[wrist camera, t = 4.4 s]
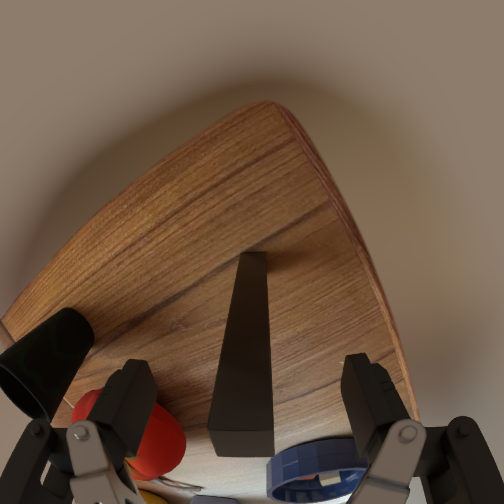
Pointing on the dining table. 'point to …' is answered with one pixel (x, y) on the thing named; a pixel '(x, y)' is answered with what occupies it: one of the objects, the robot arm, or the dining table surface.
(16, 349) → the cup
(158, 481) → the spoon
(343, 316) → the dining table surface
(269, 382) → the stick
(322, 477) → the block
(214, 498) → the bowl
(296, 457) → the bowl
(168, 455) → the tomato
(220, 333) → the dining table surface
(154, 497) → the vase
